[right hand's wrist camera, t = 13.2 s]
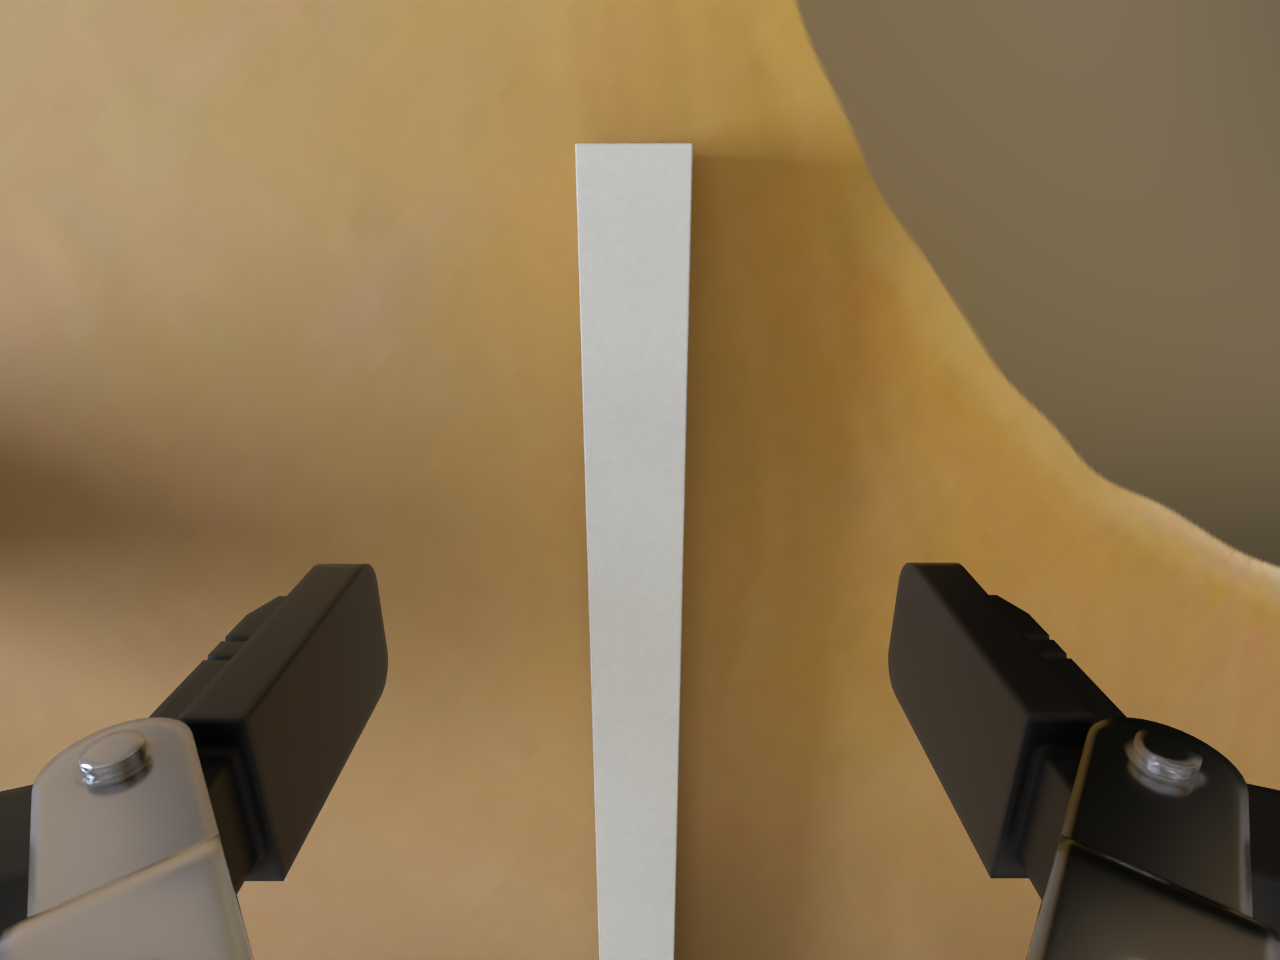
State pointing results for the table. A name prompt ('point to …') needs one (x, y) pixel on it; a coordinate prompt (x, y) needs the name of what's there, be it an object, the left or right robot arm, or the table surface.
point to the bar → (635, 520)
